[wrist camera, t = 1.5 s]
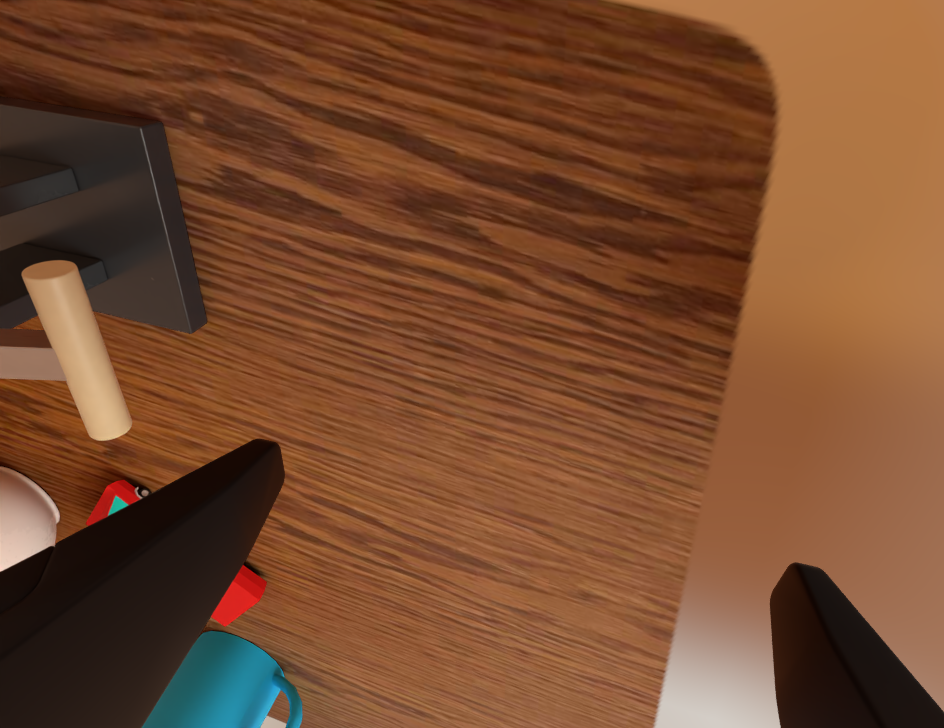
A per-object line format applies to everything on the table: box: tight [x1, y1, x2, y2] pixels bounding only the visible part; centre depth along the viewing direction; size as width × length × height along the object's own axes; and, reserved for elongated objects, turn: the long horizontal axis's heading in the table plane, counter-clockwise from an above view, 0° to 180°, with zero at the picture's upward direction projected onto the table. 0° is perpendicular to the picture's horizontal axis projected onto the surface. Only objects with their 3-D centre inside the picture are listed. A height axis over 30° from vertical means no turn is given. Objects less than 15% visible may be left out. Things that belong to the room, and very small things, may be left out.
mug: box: [142, 631, 302, 728], centre depth 42 cm, size 12×8×8 cm
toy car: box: [86, 480, 267, 626], centre depth 36 cm, size 6×12×4 cm, turn 50°
